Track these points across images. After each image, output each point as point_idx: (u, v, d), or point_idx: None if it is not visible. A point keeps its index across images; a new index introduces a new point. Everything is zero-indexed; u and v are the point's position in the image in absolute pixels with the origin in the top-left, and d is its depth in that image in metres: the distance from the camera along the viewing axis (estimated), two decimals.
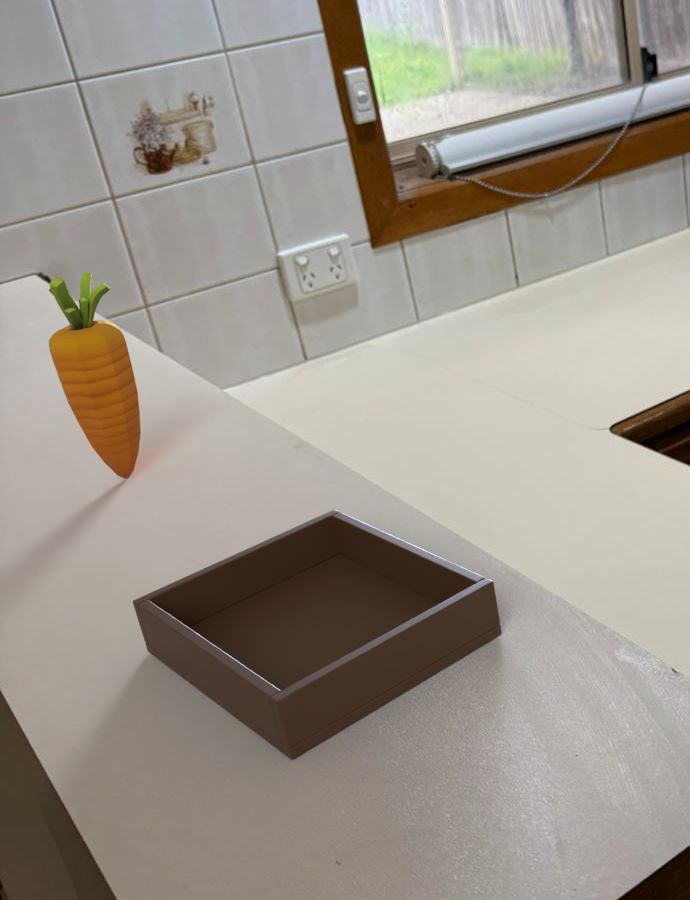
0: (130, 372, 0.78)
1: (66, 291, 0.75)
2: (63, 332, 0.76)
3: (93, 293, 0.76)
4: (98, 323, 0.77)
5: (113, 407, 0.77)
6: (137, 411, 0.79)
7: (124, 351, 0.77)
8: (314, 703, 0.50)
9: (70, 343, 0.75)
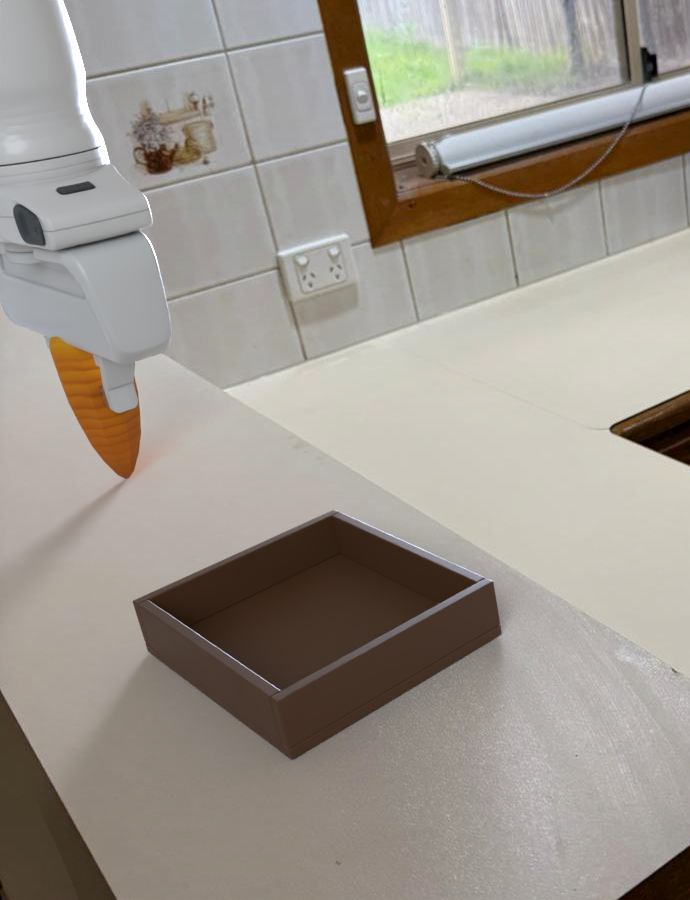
0: None
1: None
2: None
3: None
4: None
5: None
6: (137, 411, 0.79)
7: None
8: (314, 703, 0.50)
9: None
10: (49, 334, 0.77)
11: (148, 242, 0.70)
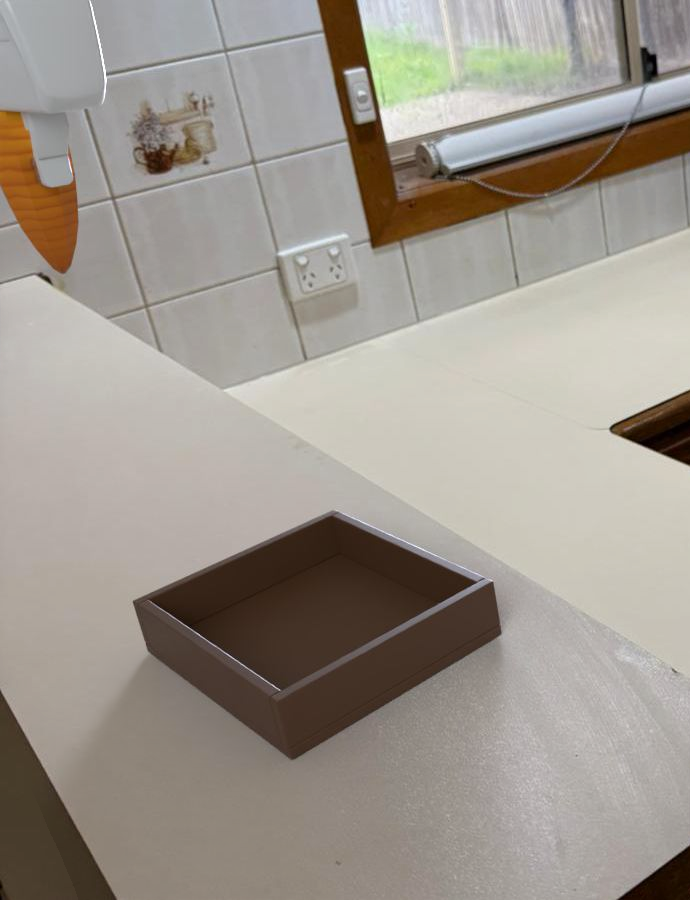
0: None
1: None
2: None
3: None
4: None
5: None
6: (74, 196, 0.73)
7: None
8: (314, 703, 0.50)
9: None
10: None
11: None
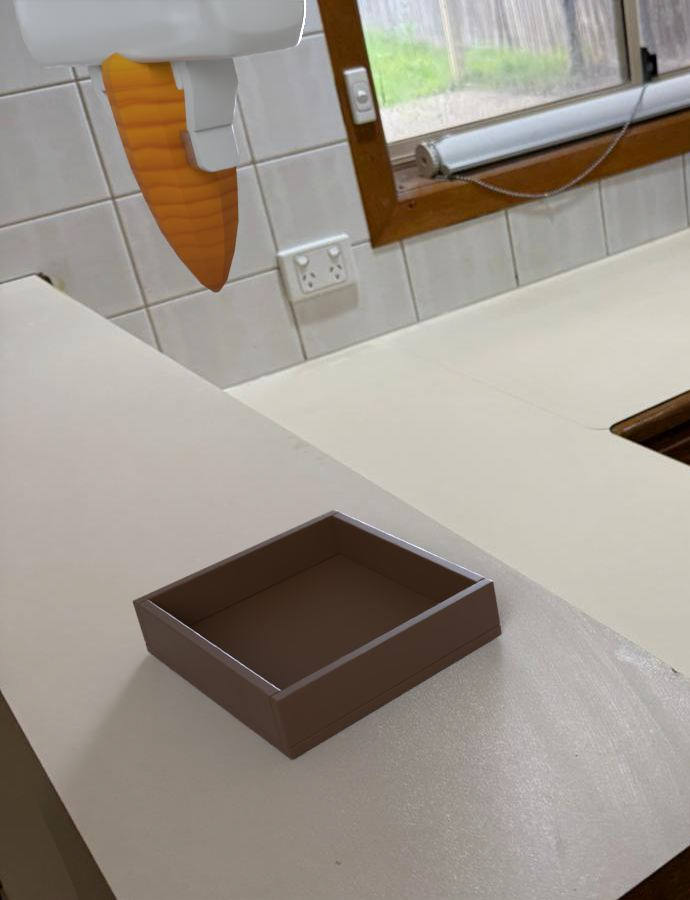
0: None
1: None
2: None
3: None
4: None
5: None
6: (234, 183, 0.52)
7: None
8: (314, 703, 0.50)
9: None
10: (100, 54, 0.49)
11: None
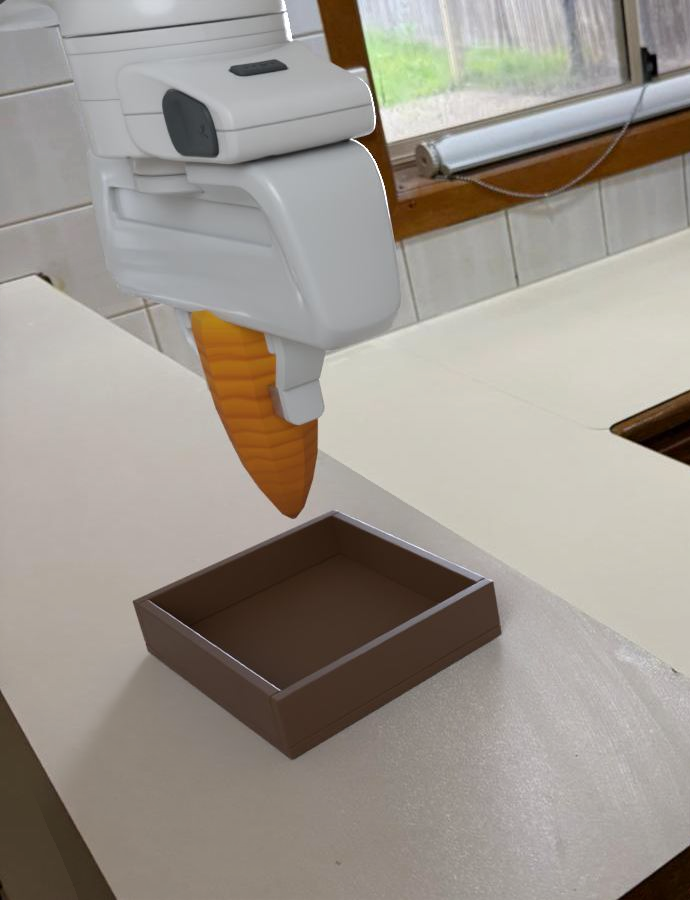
0: None
1: None
2: None
3: None
4: None
5: None
6: (315, 420, 0.54)
7: None
8: (314, 703, 0.50)
9: None
10: (190, 306, 0.51)
11: (370, 156, 0.44)
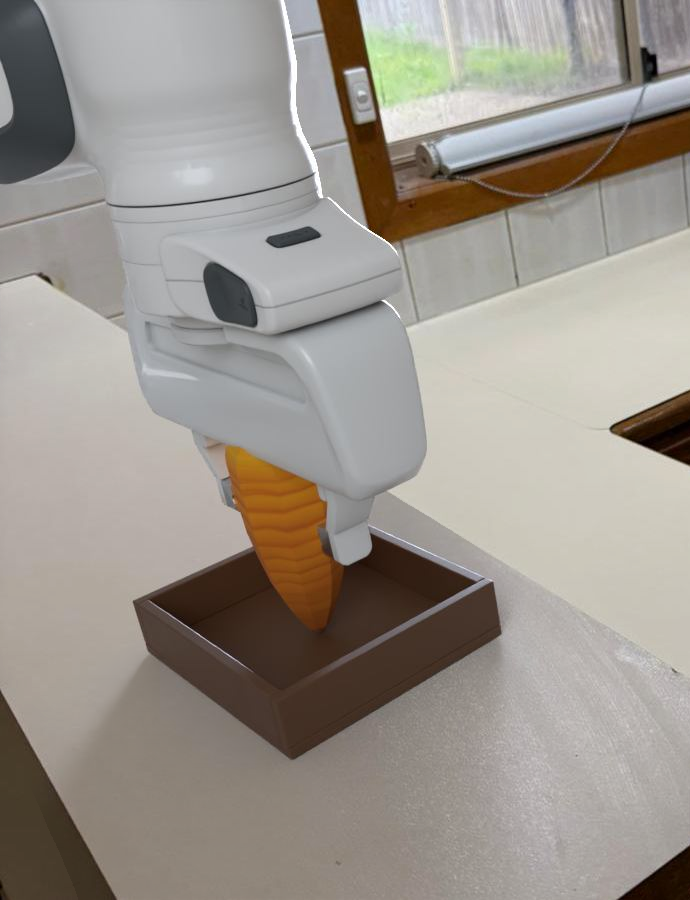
0: None
1: None
2: None
3: None
4: None
5: (316, 542, 0.54)
6: None
7: None
8: (314, 703, 0.50)
9: None
10: (224, 440, 0.53)
11: (398, 317, 0.46)
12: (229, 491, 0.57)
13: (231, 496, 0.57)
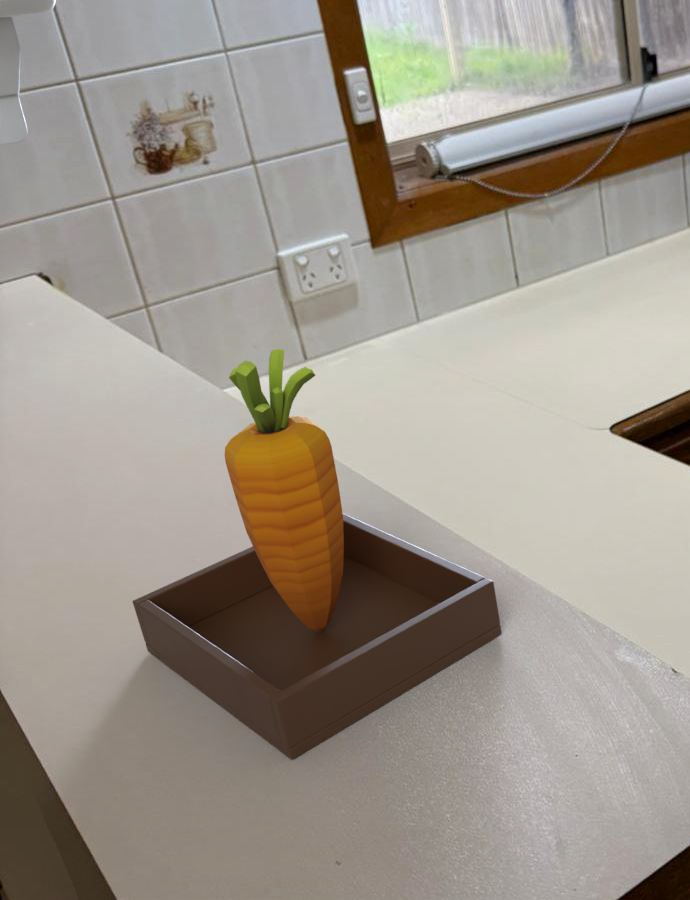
0: (336, 490, 0.55)
1: (257, 380, 0.51)
2: (249, 437, 0.53)
3: (292, 381, 0.53)
4: (295, 422, 0.54)
5: (315, 541, 0.54)
6: (341, 542, 0.56)
7: (330, 461, 0.54)
8: (314, 703, 0.50)
9: (262, 455, 0.52)
10: None
11: None
12: None
13: None
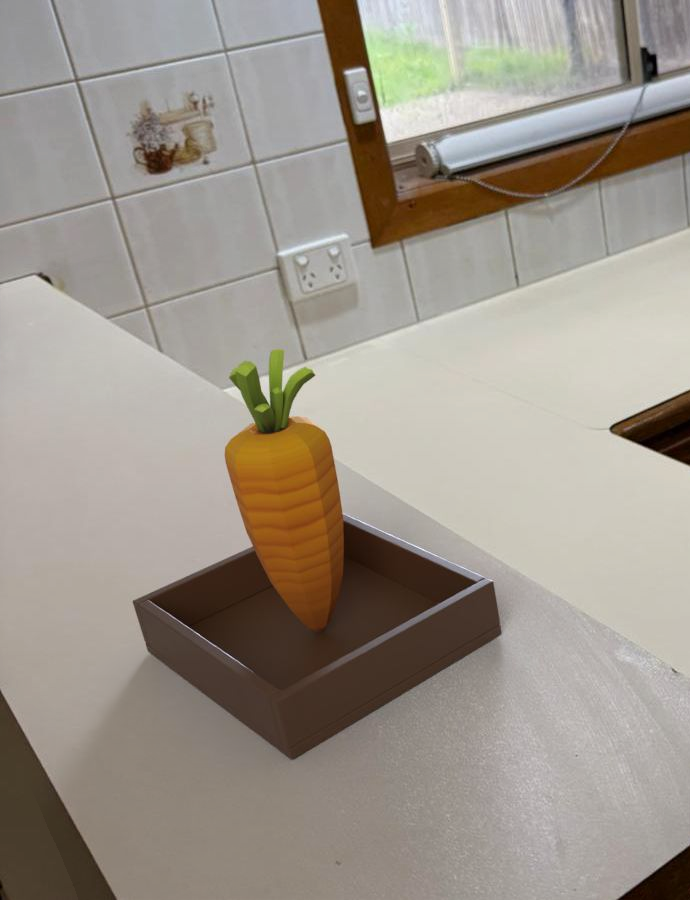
0: (336, 490, 0.55)
1: (257, 380, 0.51)
2: (249, 437, 0.53)
3: (292, 381, 0.53)
4: (295, 422, 0.54)
5: (315, 541, 0.54)
6: (341, 542, 0.56)
7: (330, 461, 0.54)
8: (314, 703, 0.50)
9: (262, 455, 0.52)
10: None
11: None
12: None
13: None
